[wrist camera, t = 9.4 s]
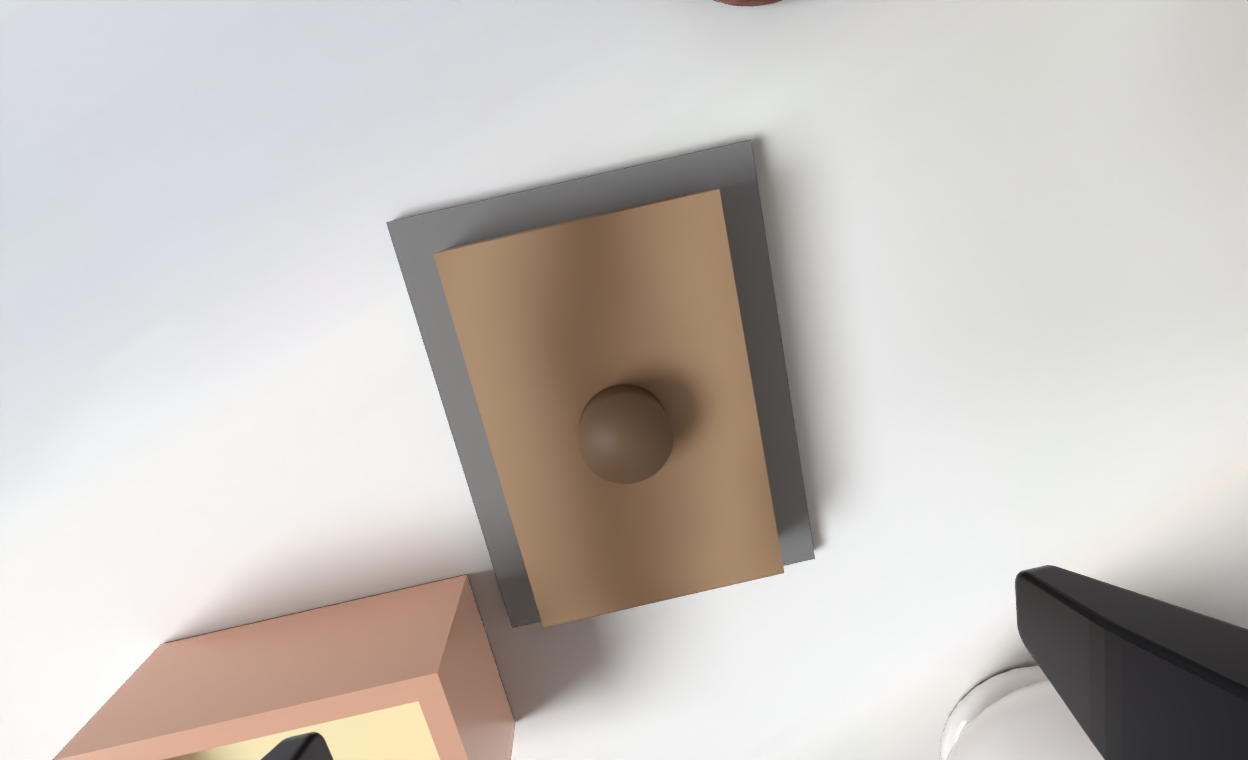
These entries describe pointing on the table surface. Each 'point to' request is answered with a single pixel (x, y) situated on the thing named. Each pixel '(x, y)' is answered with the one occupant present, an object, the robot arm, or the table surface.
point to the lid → (618, 404)
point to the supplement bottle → (747, 2)
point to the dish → (318, 687)
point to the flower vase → (1015, 722)
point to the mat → (574, 201)
